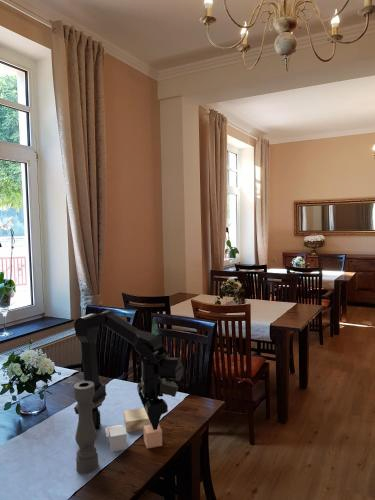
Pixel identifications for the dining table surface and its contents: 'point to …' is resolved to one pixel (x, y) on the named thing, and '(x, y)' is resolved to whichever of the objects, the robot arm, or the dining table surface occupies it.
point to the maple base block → (135, 419)
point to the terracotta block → (152, 436)
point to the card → (109, 428)
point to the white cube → (117, 438)
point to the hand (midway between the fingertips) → (152, 422)
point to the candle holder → (85, 428)
